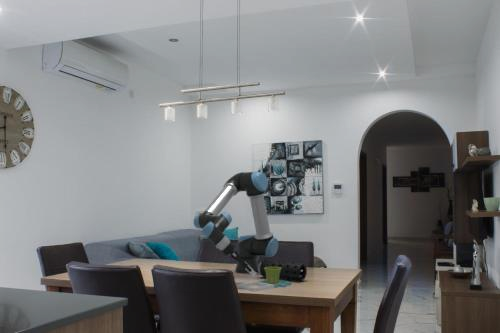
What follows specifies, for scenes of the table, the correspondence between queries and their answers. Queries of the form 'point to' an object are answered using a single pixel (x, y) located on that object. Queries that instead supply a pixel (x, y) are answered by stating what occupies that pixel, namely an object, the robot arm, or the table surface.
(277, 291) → the table surface
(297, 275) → the muzzle brake
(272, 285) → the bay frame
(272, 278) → the plant pot
